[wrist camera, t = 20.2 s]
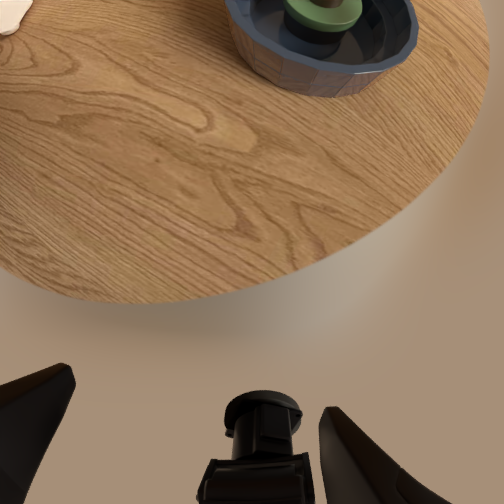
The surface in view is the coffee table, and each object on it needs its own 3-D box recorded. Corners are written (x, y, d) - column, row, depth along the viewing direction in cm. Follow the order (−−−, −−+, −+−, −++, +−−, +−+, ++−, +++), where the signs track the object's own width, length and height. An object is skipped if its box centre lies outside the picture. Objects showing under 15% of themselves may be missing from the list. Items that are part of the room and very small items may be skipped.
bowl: (369, 125, 17) (404, 109, 12) (208, 71, 17) (191, 37, 11) (395, 15, 14) (422, -14, 9) (261, -32, 14) (260, -71, 8)
